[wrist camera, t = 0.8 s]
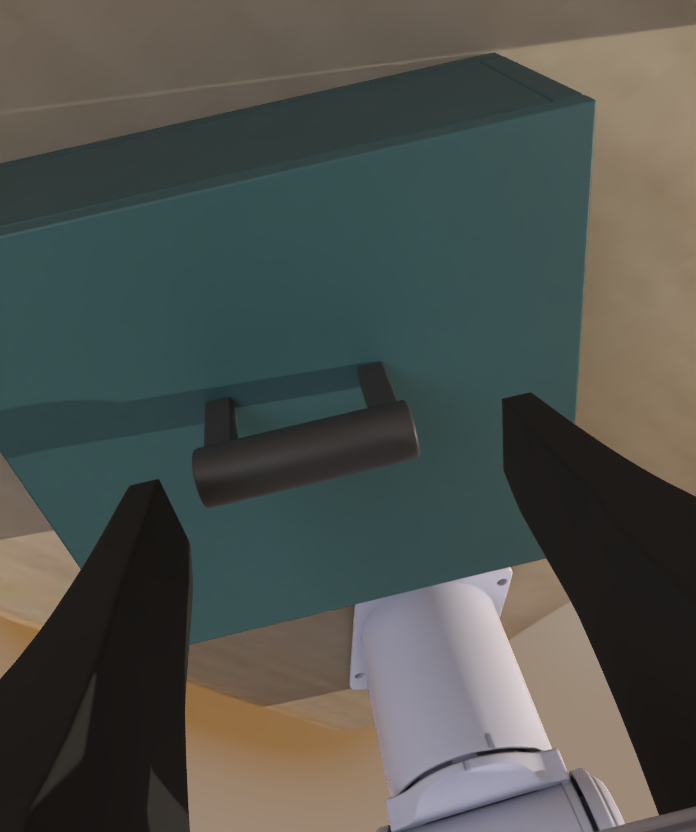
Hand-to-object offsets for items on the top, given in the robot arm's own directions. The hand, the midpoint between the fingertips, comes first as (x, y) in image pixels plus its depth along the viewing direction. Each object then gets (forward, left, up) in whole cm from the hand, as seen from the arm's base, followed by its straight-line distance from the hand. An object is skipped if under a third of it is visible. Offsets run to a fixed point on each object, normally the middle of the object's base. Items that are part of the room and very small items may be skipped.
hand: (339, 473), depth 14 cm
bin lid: (-2, 0, -4) cm, 5 cm away
